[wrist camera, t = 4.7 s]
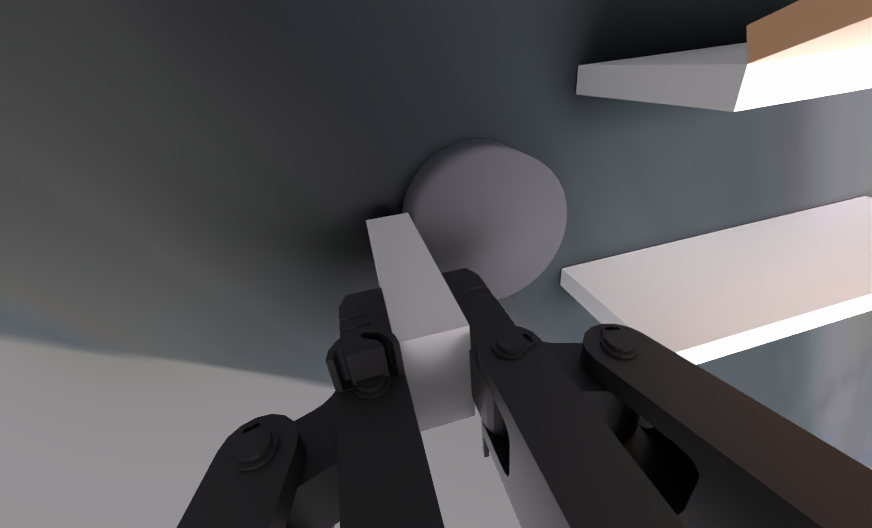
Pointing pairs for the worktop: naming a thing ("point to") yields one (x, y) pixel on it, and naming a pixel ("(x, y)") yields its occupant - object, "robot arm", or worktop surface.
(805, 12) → the duct cover
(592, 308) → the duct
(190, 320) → the worktop surface
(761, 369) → the worktop surface
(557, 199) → the grey round puck
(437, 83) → the worktop surface
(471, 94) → the worktop surface
